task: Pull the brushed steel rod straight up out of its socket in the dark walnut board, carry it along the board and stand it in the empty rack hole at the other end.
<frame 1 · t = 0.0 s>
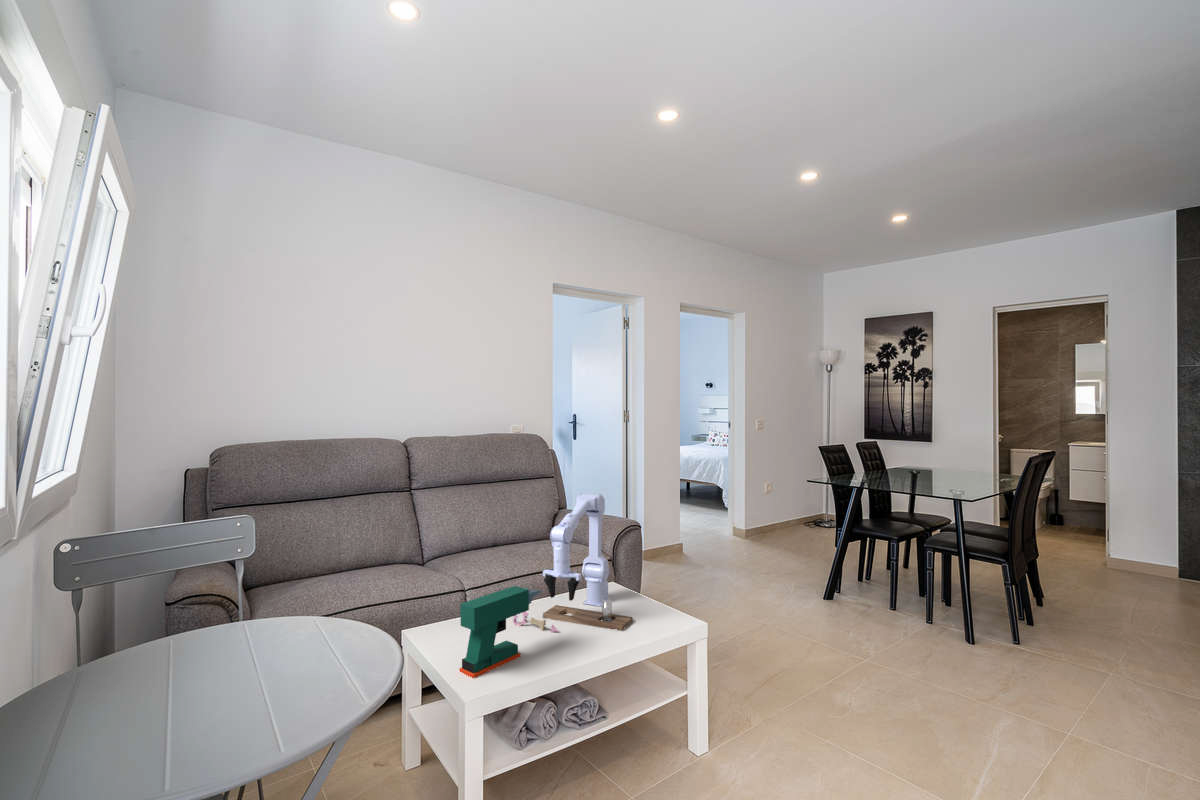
hand: (562, 598, 203), 10 cm above the table, tool pointing down, fingers open, 7 cm apart
power tool: (507, 657, 179), on the table
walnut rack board: (587, 619, 210), on the table
decorative key: (535, 629, 202), on the table
steel rod: (607, 622, 207), resting in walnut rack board
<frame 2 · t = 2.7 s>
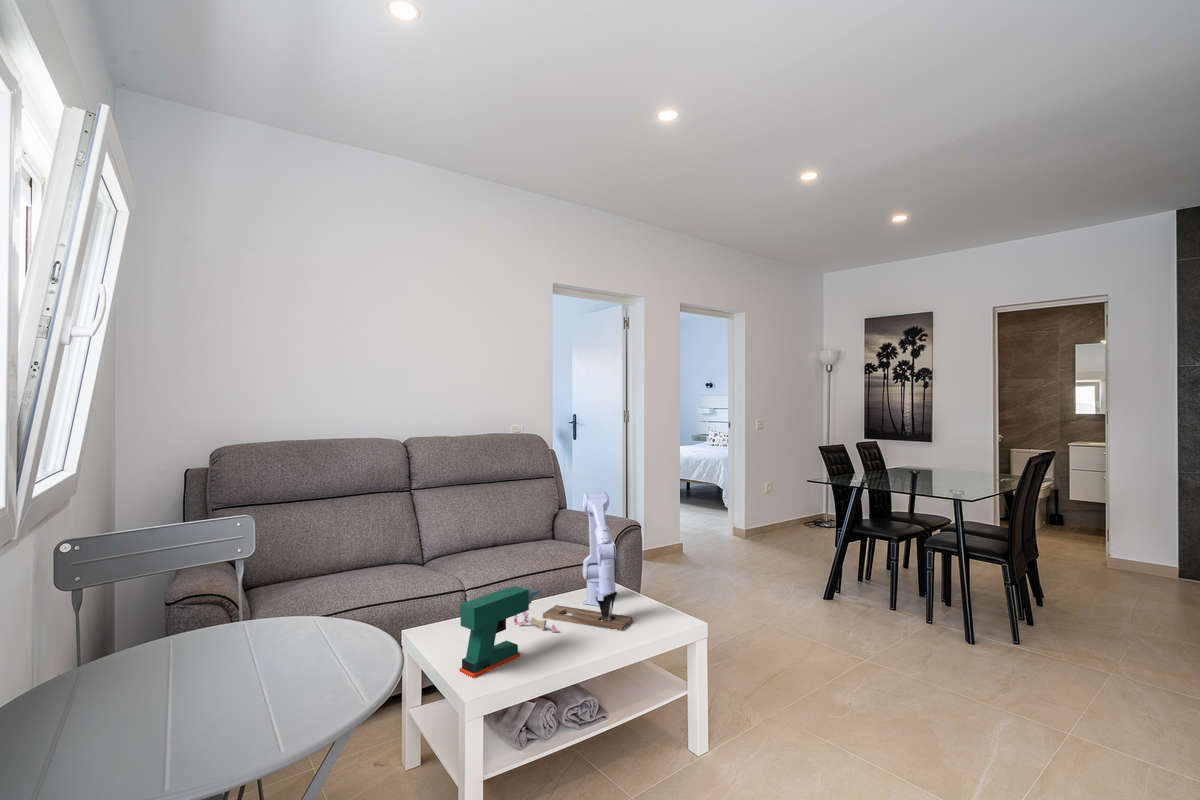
hand: (607, 614, 207), 3 cm above the table, tool pointing down, fingers closed on steel rod, 4 cm apart
steel rod: (607, 622, 207), resting in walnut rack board, touching gripper
everything else where it was.
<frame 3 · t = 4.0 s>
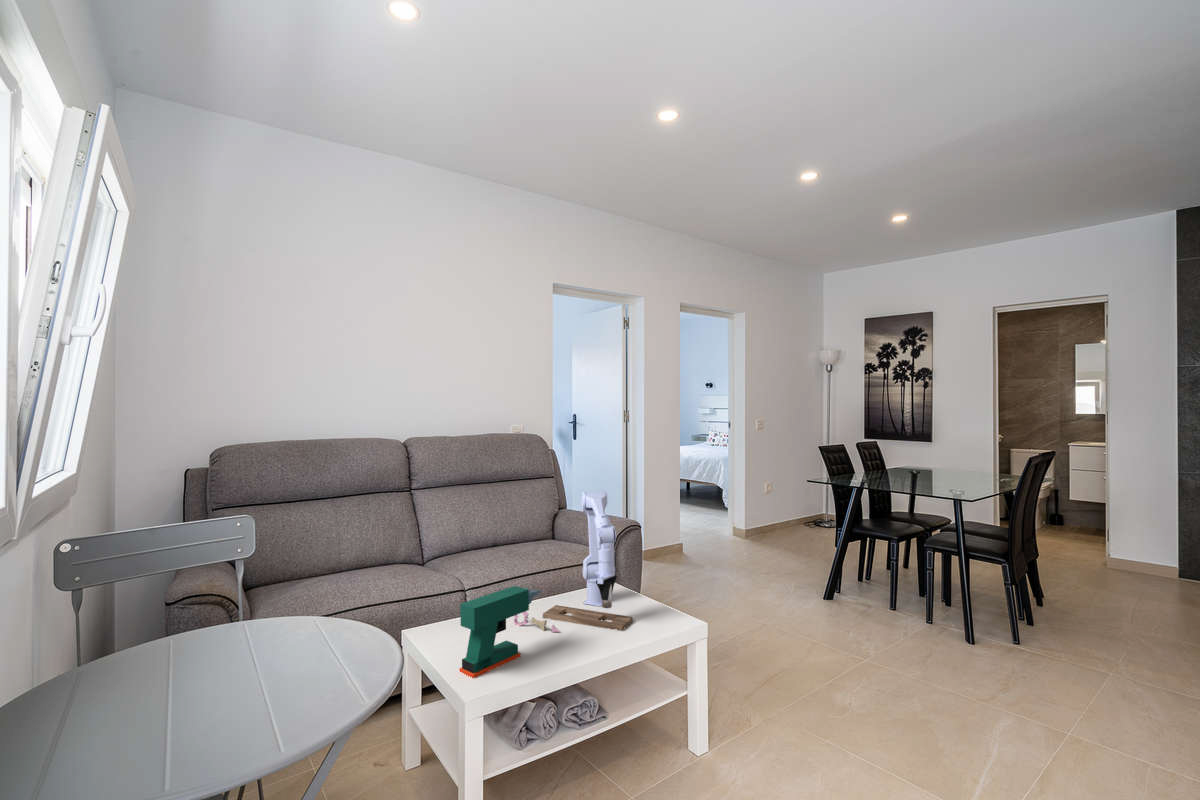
hand: (606, 598, 207), 9 cm above the table, tool pointing down, fingers closed on steel rod, 4 cm apart
steel rod: (606, 606, 207), point 6 cm above the table, touching gripper
everything else where it was.
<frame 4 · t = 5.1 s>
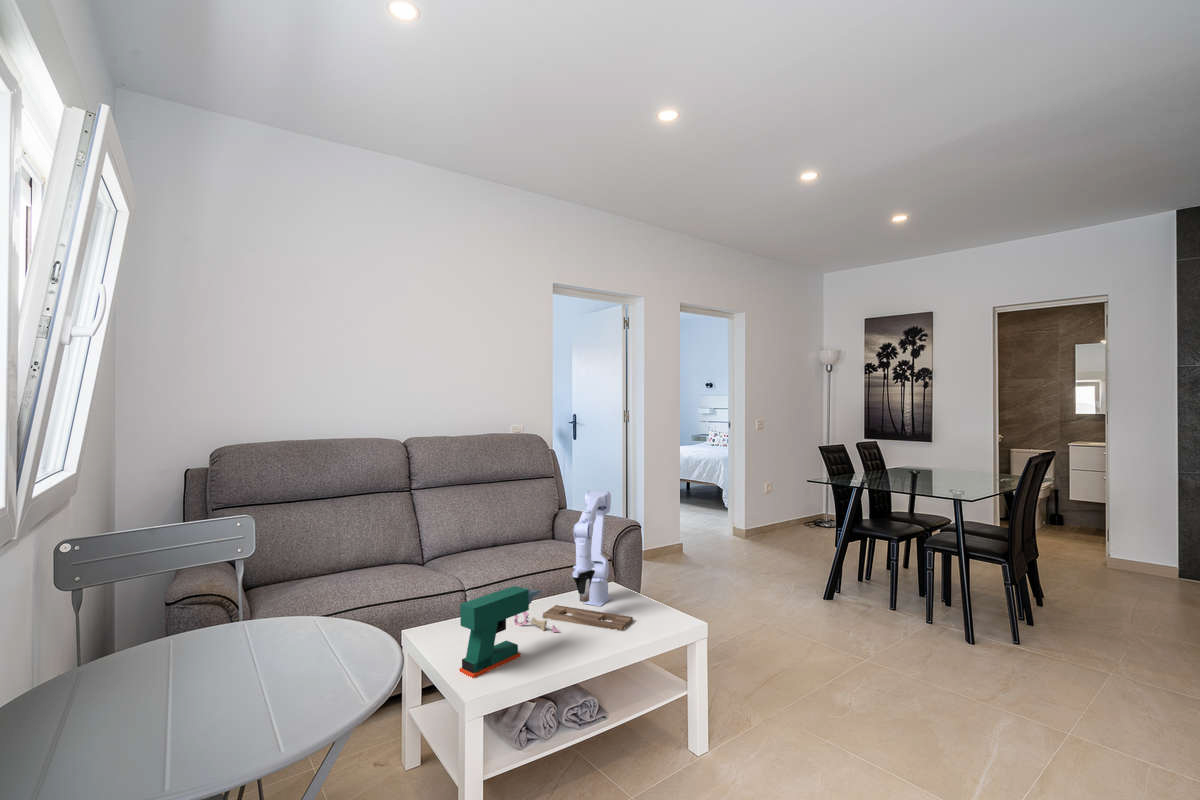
hand: (584, 591, 211), 10 cm above the table, tool pointing down, fingers closed on steel rod, 4 cm apart
steel rod: (584, 600, 211), point 7 cm above the table, touching gripper
everything else where it was.
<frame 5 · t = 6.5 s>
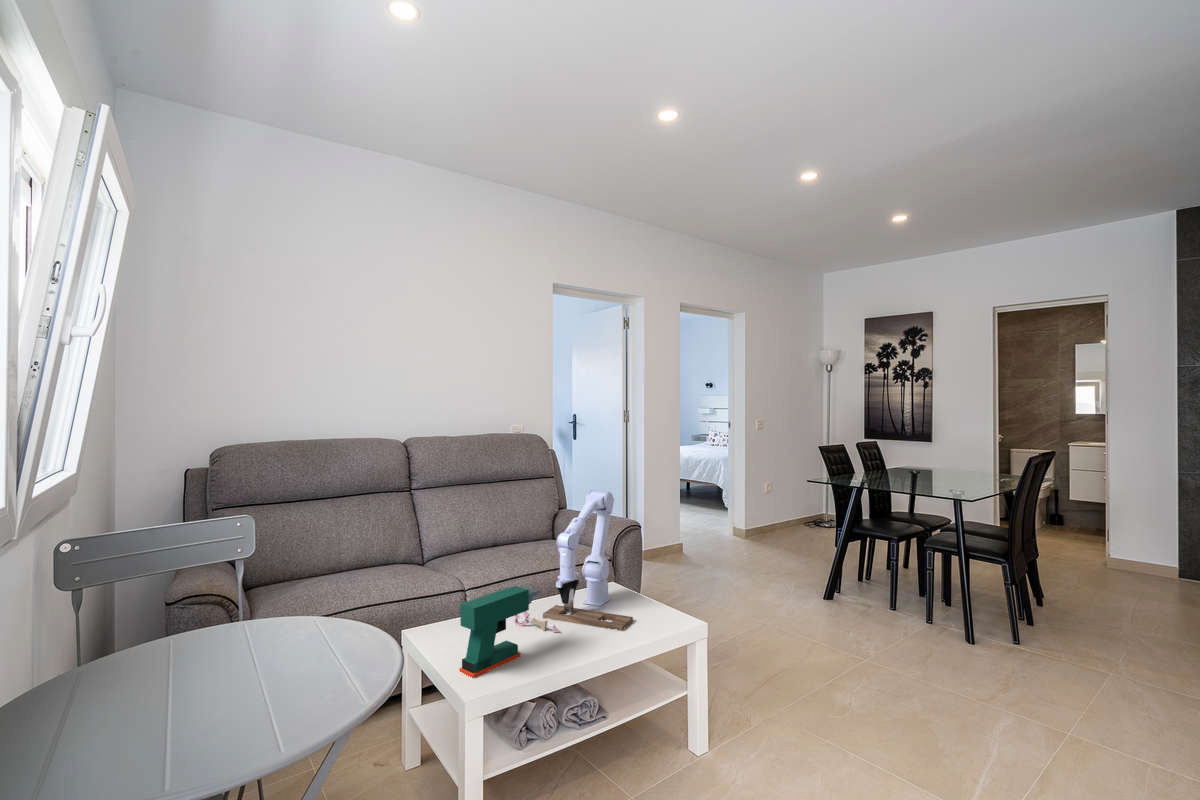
hand: (567, 601, 213), 5 cm above the table, tool pointing down, fingers closed on steel rod, 4 cm apart
steel rod: (568, 610, 213), point 2 cm above the table, touching gripper
everything else where it was.
when the fingers open (4 cm above the table, at t = 7.6 s): steel rod stays where it is, resting in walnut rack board.
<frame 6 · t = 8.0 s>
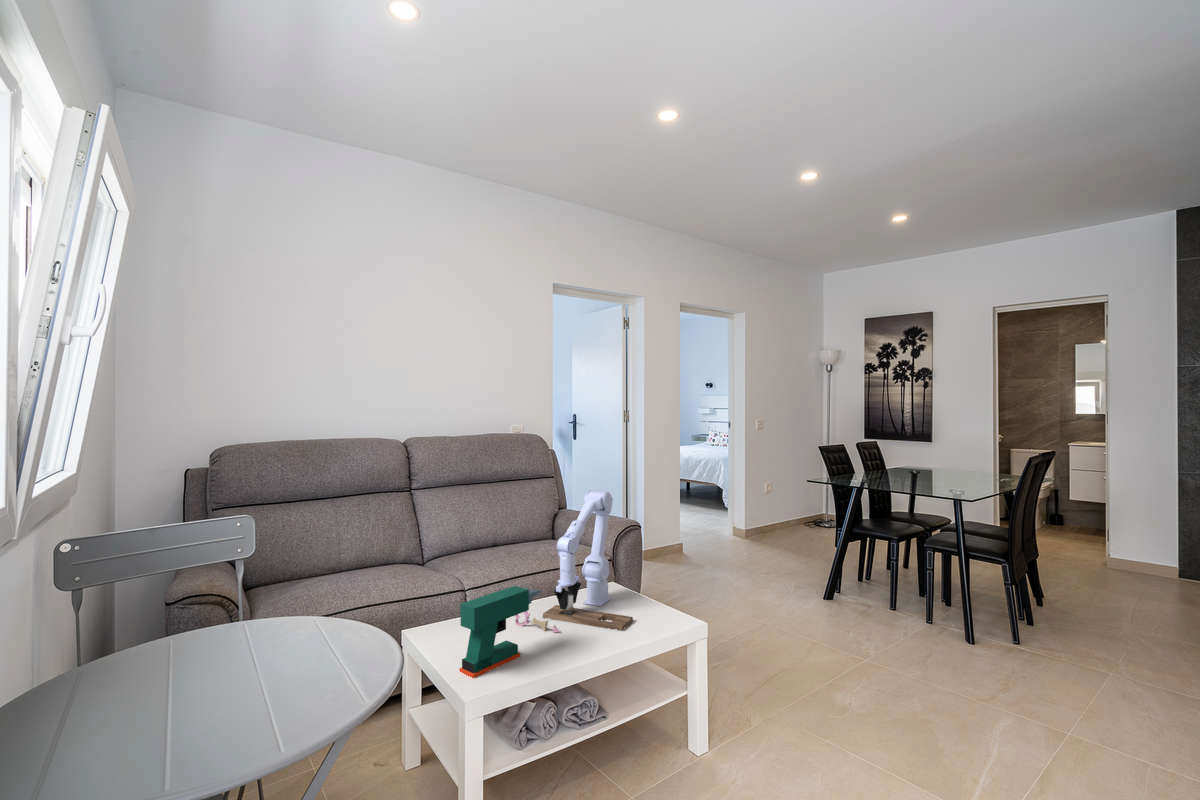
hand: (568, 605, 213), 4 cm above the table, tool pointing down, fingers open, 7 cm apart
steel rod: (568, 616, 213), resting in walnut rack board
everything else where it was.
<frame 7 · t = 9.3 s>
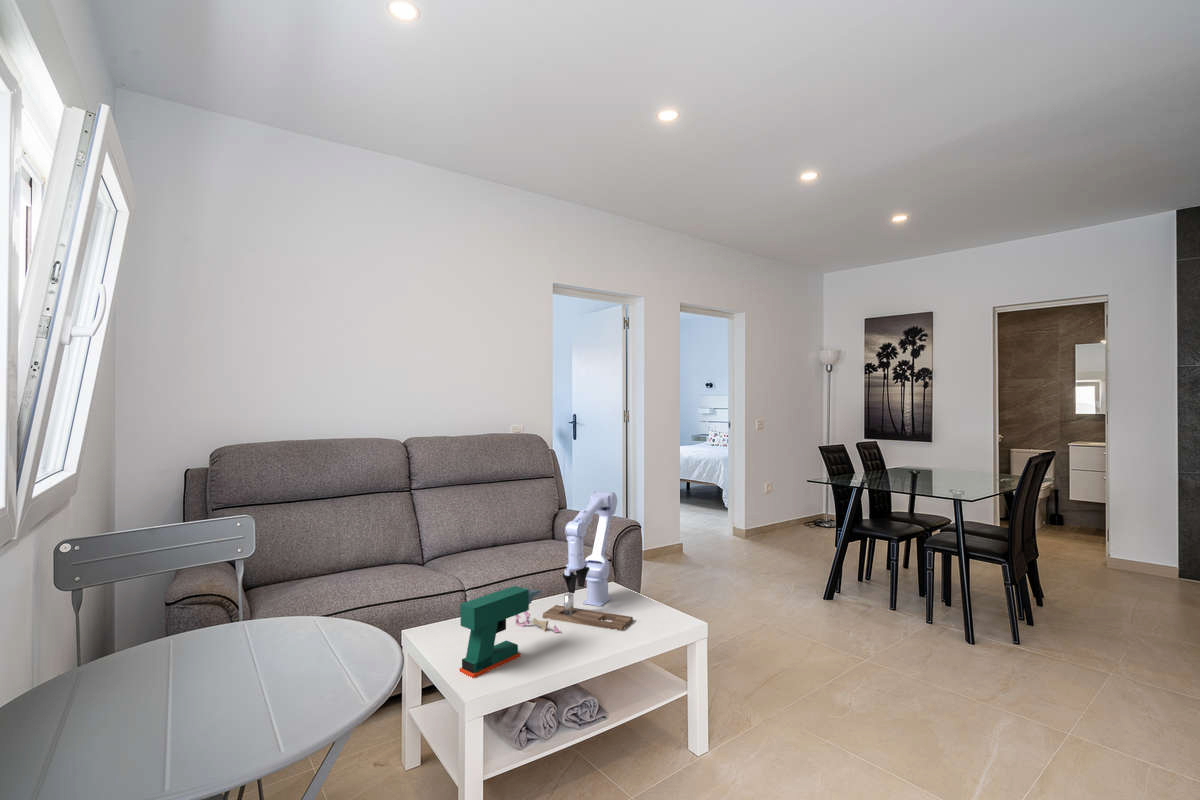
hand: (576, 589, 214), 10 cm above the table, tool pointing down, fingers open, 7 cm apart
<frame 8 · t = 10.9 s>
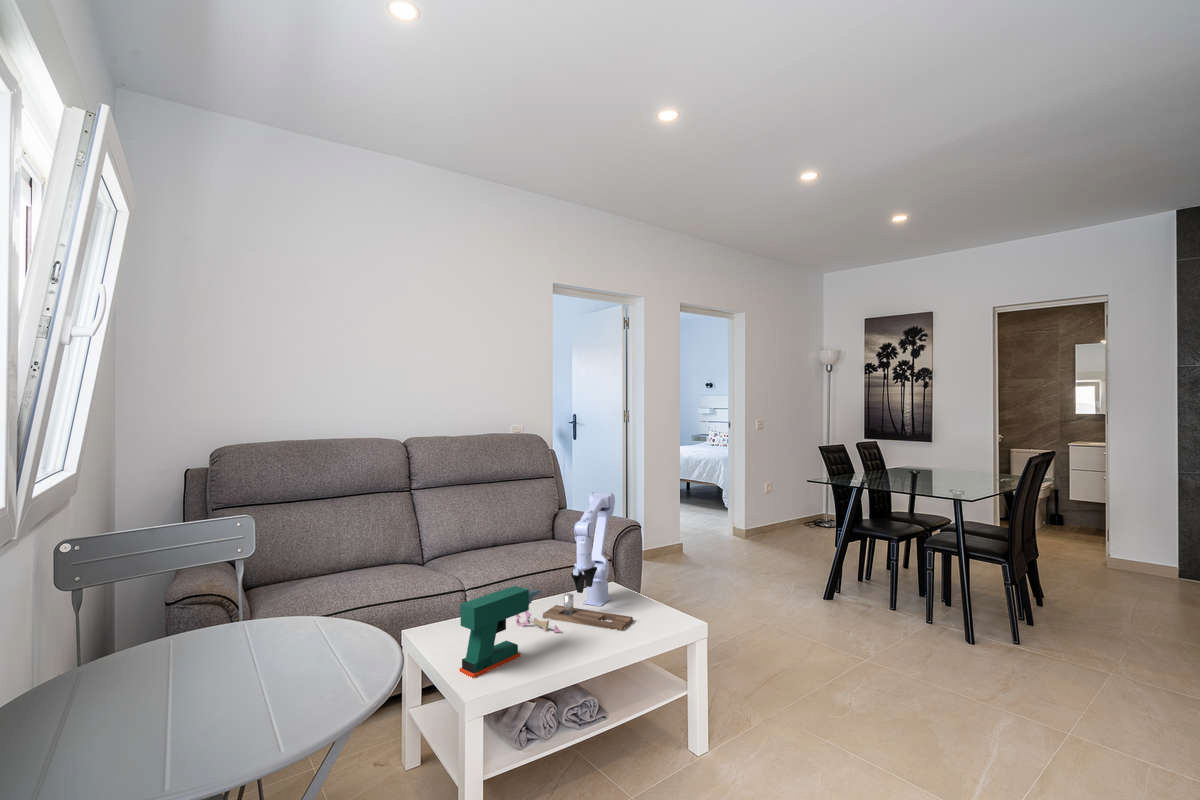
hand: (584, 589, 215), 9 cm above the table, tool pointing down, fingers open, 7 cm apart
at the end: steel rod 0.2 cm from the target spot on the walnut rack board, point 0.0 cm above the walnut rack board's base; steel rod tilted 0°; the gripper is holding nothing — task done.
